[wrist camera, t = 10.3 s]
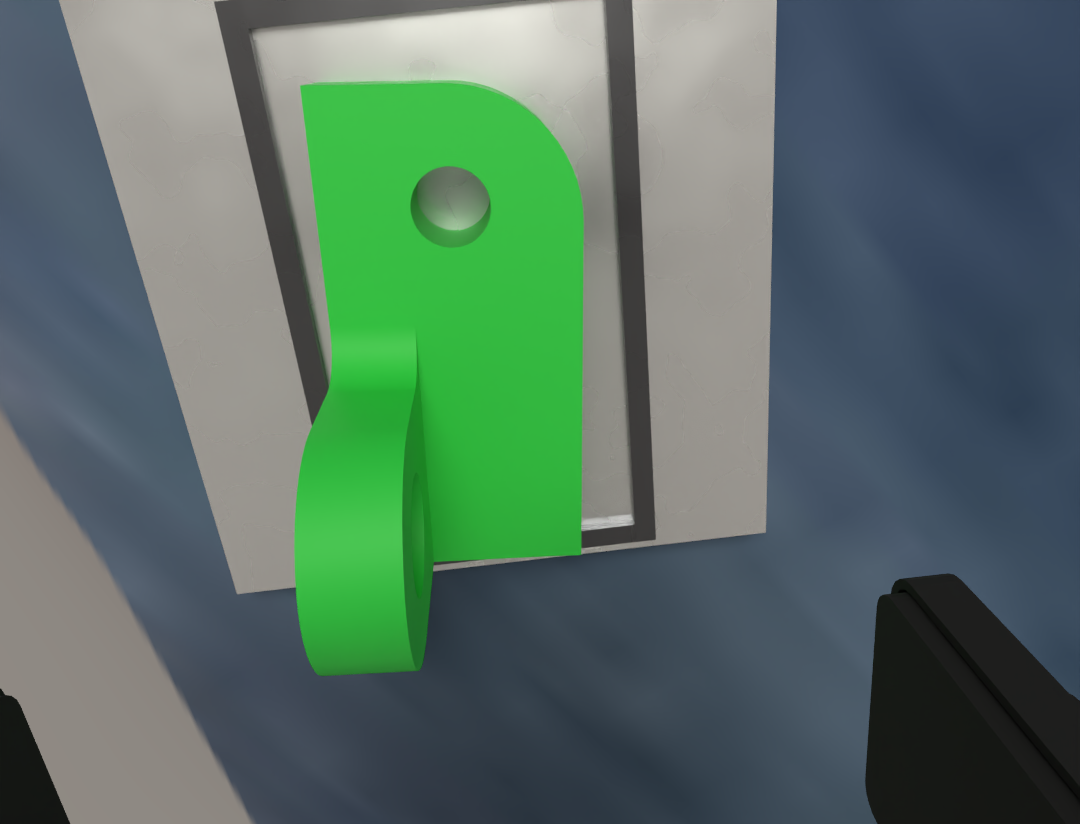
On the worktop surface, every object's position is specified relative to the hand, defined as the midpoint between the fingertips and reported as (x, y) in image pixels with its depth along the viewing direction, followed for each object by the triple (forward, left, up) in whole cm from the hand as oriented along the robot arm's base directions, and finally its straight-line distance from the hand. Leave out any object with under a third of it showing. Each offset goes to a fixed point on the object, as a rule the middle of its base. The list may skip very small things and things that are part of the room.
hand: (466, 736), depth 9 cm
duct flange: (+1, 0, -15) cm, 15 cm away
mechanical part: (0, 0, -14) cm, 14 cm away
